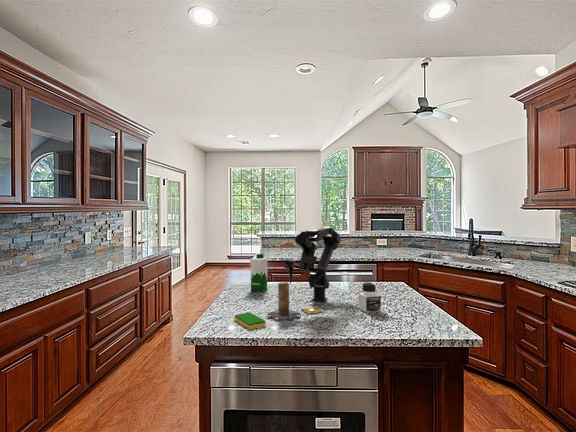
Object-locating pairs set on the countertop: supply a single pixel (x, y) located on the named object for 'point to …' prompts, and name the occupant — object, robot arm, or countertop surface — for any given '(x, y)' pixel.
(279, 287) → the walnut axle
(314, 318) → the countertop surface
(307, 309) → the brass gear disc
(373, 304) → the medicine bottle
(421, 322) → the countertop surface
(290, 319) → the steel gear disc
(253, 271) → the milk carton
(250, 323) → the dish sponge
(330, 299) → the countertop surface
